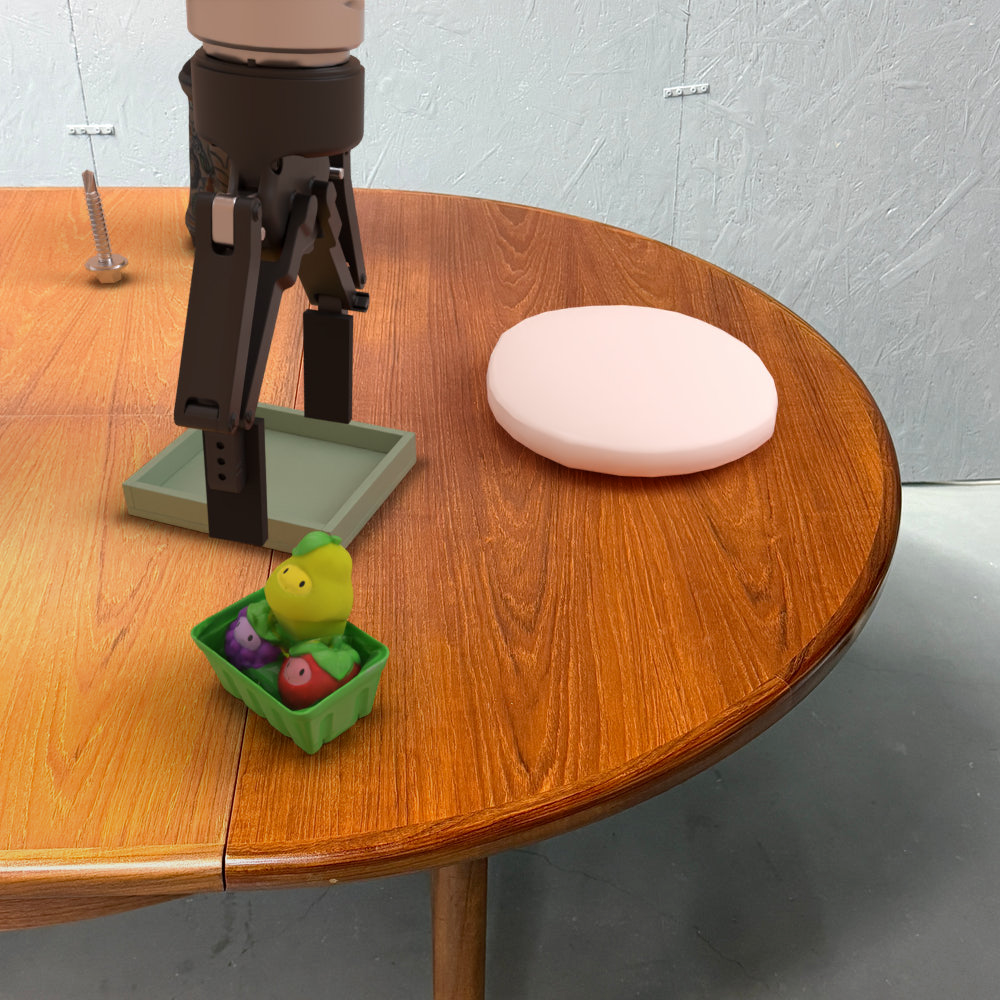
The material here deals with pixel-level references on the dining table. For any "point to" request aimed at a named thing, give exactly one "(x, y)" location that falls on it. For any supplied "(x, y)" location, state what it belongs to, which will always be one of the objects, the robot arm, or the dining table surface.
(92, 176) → the screw
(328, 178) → the robot arm
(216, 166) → the dark brown tall vessel
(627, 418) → the pale pink round cushion
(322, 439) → the tray
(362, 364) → the dining table surface
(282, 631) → the fruit basket
